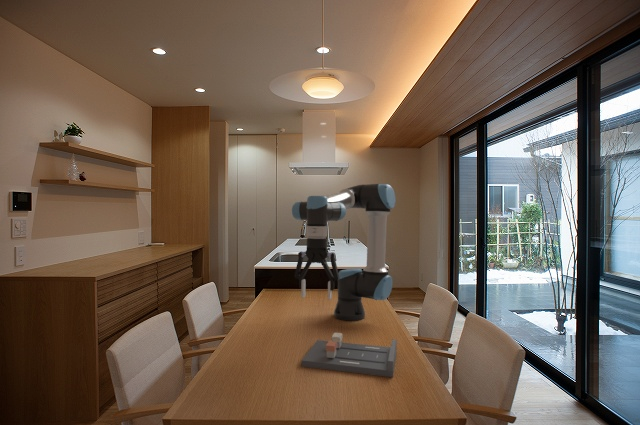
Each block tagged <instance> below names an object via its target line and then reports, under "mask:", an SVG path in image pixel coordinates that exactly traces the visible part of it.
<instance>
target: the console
mask: <svg viewBox="0 0 640 425" xmlns="http://www.w3.org/2000/svg"><path fill="white" fill-rule="evenodd" d="M329 341H330V340H321V339H317V340H316V341H315V342H314V344H313V345H312V346H311V347H310V348H309V350H308V352H307V353H306V354H305V356H303V357H302V359H301V367H304V368H311V369H312V368H313V369H321V370H329V371H336V372H344V373H346V372H347V373H353V374H363V375H371V376H378V377H388V378H394V373H395V366H396V359H397V353H398V352H397V348H398V347H397V342H398V340H397V339H394V338H393V339H392V340H391V343H390V346H381V345H369V344H360V343H352V342H351V343H350V342H349V343H348V342H342V343H341V347H340V349H339V348H336V356H335V357H334V358H327V351H326V345H327V343H328V342H329Z"/></svg>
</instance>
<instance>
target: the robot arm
mask: <svg viewBox="0 0 640 425" xmlns="http://www.w3.org/2000/svg"><path fill="white" fill-rule="evenodd" d="M395 206H396V194H395V190H394V188H393V187H392V186H391V185H390V184H387V183H371V184H358V185H353V186H350V187H347V188H344V189H341V190H340V191H339V192H337V193H334V194H330V195H326V196H325V195H309V196H308V197H307V198H306V201H297V202H295V203H294V204H292V207H291V214H292V217H293V218H294V219H295V220H299V221H306V237H307V238H306V251H299V252H298V253H297V254H298V256H297V257H298V260H297V263H296V266H295V267H296V268H295V271H294V275H293V278H294V279H298V288H299V289H300V290H301V293H300V294H301V295H300V296H301V297H300V298H301V299H304V298H305V297H306V296H307V295H306V292H307V291H306V290H307V289H306V287H307V285H306V282H307V281H306V279H305V277H306V274H307V272H308V271H309V269H310V267H311V265H312V264H315V263H317V264H321V265H322V267H323V269H324V272H325V273H326V276H327V277H328V279H329V281H328V282H327V300H328V301H331V300H332V299H333V297H332V293H333V291H335V282H336V281H337V302H336V305H335V308H334V311H333V317H334V318H335V319H338V320H341V321H349V322H350V321H351V322H352V321H360V320H363V319H365V317H366V310H365V308H364V305H363V302H362V298H364V299H365V298H366V299H371V300H374V301H385V300H387V299H388V298H389V296H390V294H391V293H392V290H393V284H394V283H393V277H392V276H391V275H389V271H388V269H387V268H386V253H387V251H386V250H387V249H386V248H387V247H386V246H387V244H386V243H387V225H388V222H387V221H388V220H387V219H388V218H387V217H388V216H389V215H390V214H391V210H392V209H394V208H395ZM349 209H365V213H366V215H368V221H367V222H368V223H367V247H366V266H365V267H364V268H363V270H362V268H346V269H342V270H339V269H338V266H337V262H336V252H328V239H327V238H326V237H328V222H338V221H341V220H343V219H344V218H345V217H346V215H347V210H349ZM305 257H307V261H306V263H305V266H304V267H303V269H302V266H303V261H304V258H305ZM327 257H328V258H329V259H330V264H331V267H332V270H331V268H330V266H329V264H328V262H327V260H326V258H327ZM301 269H302V271H301Z"/></svg>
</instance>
